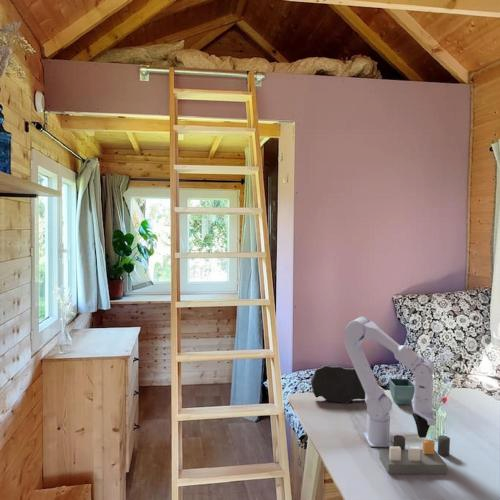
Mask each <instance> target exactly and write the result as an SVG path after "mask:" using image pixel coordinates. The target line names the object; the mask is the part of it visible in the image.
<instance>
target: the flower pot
mask: <svg viewBox="0 0 500 500" xmlns="http://www.w3.org/2000/svg"><path fill="white" fill-rule="evenodd" d="M388 385H389V386H388V387H389V392H390V395H391V397H392V400H393V401H394V402H395V405H407V406H408V405H410V404H411V403H412V401H413V400H414V388H415V383H413V382H412V380H411V379H408V378H388Z"/></svg>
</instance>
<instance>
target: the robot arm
mask: <svg viewBox="0 0 500 500" xmlns="http://www.w3.org/2000/svg"><path fill="white" fill-rule="evenodd" d="M343 330H344V333H345V335H344V348H345V350H346V352H347V354H348V357H349V359H350V361H351V364H352V366H353V369H355V371H356V373H357V375H358V377H359V380H360V382H361V384H362V387H363V389H364V391H365V399H364V401H365V404H366V405H365V406H366V413H367V415H366V419H365V420H366V422H365V424H366V427H365V432H363V436H364V438H365V440H366V441H367V443H368V445H369V446H370V447H372V448H374V447H375V448H377V447H378V448H381V447H382V448H389V446H394V443H393V442H391V439H390V433H391V432H390V428H391V426H390V425H391V415H390V413H389V412H390V410H392V408H393V402H392V399H391V398H390V396H388V395H387V394H386V392H385V390H384V389H382V387H380V386H379V383H378V382H377V379H376V377H375V375H374V372H373V369H372V367H371V365H370V363H369V361H368V359H367V357H366V354H365V352H364V350H363V348H362V343H363V341H364V339H365V340H374V341H376V342H377V343H379V344H380V345H381V346H383V347H385V348H386V349H387V350H389V352H391V353H393V355H394V358H395V360H396V361H398V362H399V363H401V365H403V366H405V367H406V368H407V369H408V370H409V371H411V372H412V375H413V376H414V385H415V388H414V396H413V400H412V401H411V407H412V411H413V413H412V414H411V416H412V417H413V420H414V421H415V426H416V431H417V435H418V437H419V439H420V438H427V436H428V433H429V429H430V428H431V427H430V426H436V419H435V417H434V414H436V411H437V410H436V409H434V408H433V403H434V402H433V399H434V397H433V396H434V395H433V393H434V392H433V391H434V377H433V375H434V374H435V371H436V367H435V366H436V365H435V364H434V363H433V362H432V361H431V359H428V358H425V357H424V356H420V355H419V354H418V353H417V352H416V351H414V350H413V347H412V346H410V345H409V346H407V345H406V344H405V345H404V344H402V345H400V344H399V343H398V342H396V341H395V340H394V339H393V338H392V337H391V336H390V335H388V334H387V333H386V332H384V330H383V329H381V328H380V327H379V326H378V325H377V324H376V323H375V322H374V321H372V320H370V319H369V318H368V317H366V316H362V315H360V316H359V317H357V318H356V319H354V320H351V321H349V322H348V323H347V325H346V326H345V328H344V329H343Z"/></svg>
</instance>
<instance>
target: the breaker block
mask: <svg viewBox="0 0 500 500" xmlns="http://www.w3.org/2000/svg"><path fill="white" fill-rule="evenodd" d="M407 448H408V449H406V448H405V449H401V448H400V446H394V445H393V446H389V447H388V449H387V448H385V449H382V448H381V449H379V457H378V458H379V460H380V462H381V464H382V466H383V467H384V469H385V471H386V473H387V474H389V475H447V466H448V465H447V464H446V462H445V461H444V459H442V456H441V455H439V454H438V451H436V450H435V449H434V454H424V453H423V449H421V447H420V446H408V447H407Z"/></svg>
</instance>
